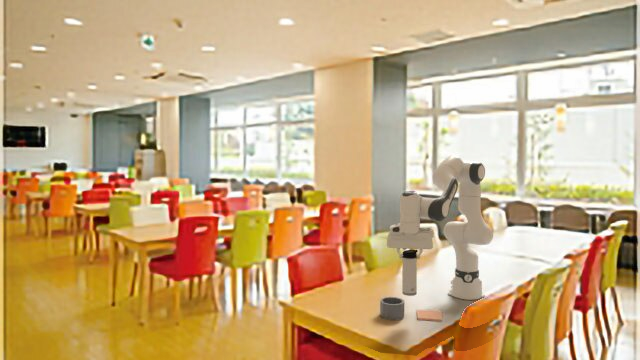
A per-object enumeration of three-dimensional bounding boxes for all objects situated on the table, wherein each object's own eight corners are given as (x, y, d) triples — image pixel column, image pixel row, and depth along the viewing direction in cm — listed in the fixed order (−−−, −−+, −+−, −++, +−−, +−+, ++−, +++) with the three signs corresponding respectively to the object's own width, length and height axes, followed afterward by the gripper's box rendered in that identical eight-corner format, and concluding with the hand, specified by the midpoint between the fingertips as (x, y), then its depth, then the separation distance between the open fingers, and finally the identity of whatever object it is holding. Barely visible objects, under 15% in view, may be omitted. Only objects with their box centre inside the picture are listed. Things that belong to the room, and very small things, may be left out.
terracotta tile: (417, 311, 220) (417, 309, 220) (441, 312, 218) (441, 311, 217) (417, 319, 209) (417, 317, 209) (442, 321, 207) (442, 319, 207)
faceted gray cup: (381, 310, 221) (381, 296, 220) (404, 312, 219) (404, 297, 218) (379, 318, 210) (379, 304, 210) (403, 320, 208) (404, 305, 207)
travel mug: (416, 296, 202) (416, 251, 201) (401, 295, 204) (401, 250, 203) (418, 292, 208) (418, 248, 206) (403, 291, 210) (403, 247, 209)
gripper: (433, 227, 205) (433, 257, 206) (387, 225, 209) (387, 255, 210) (434, 229, 199) (433, 260, 200) (386, 228, 203) (386, 259, 204)
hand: (409, 258), depth 205 cm, fingers closed on travel mug, 6 cm apart
